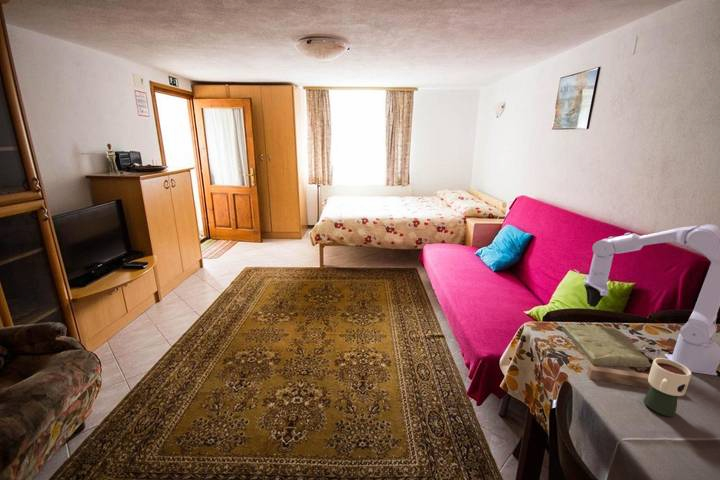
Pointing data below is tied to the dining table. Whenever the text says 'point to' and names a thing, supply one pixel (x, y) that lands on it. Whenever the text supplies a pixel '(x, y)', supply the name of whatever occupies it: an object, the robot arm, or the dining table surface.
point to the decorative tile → (605, 346)
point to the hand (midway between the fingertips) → (591, 305)
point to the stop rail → (618, 376)
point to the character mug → (666, 385)
